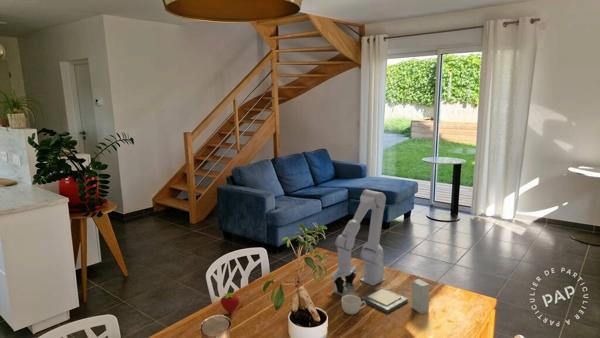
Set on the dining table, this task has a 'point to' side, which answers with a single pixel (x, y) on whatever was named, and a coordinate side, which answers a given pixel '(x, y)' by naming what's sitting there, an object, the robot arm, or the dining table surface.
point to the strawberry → (229, 302)
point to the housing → (346, 288)
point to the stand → (384, 299)
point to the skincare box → (420, 296)
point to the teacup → (351, 304)
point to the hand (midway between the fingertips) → (344, 290)
